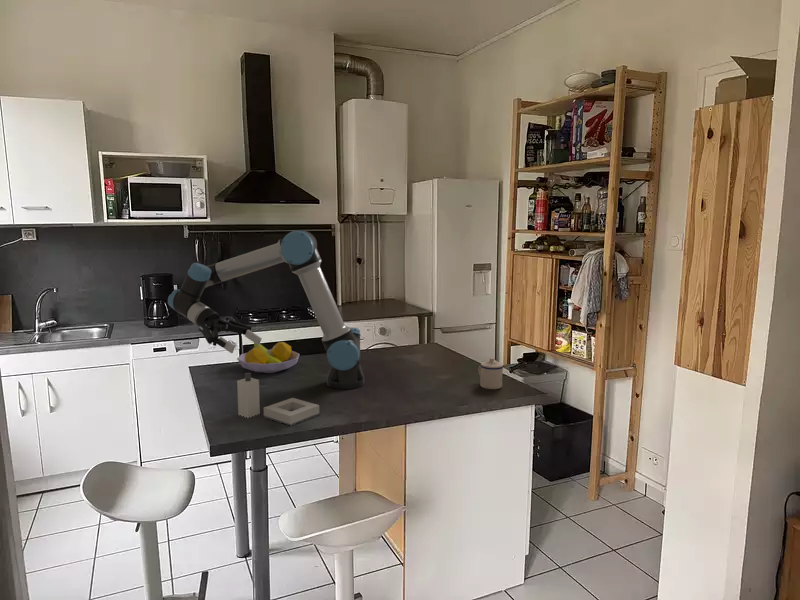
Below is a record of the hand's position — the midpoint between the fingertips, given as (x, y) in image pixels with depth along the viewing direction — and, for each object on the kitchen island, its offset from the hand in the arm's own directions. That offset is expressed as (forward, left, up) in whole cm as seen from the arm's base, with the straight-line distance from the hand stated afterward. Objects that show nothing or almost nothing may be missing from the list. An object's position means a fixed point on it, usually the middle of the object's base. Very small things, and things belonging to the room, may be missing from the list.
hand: (247, 345), depth 190 cm
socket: (-13, +11, -22) cm, 28 cm away
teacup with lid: (-93, -6, -22) cm, 96 cm away
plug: (0, +8, -22) cm, 23 cm away
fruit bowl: (-7, -50, -22) cm, 55 cm away
